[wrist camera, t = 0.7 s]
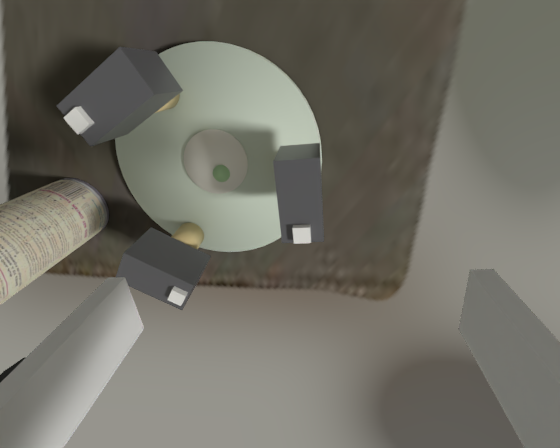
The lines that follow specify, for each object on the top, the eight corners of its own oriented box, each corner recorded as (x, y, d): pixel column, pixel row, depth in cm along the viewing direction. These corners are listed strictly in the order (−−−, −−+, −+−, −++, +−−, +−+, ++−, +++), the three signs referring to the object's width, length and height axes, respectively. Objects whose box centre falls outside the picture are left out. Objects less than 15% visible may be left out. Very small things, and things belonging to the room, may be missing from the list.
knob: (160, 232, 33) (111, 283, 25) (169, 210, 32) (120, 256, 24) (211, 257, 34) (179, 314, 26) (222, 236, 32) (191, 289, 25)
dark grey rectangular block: (178, 54, 25) (114, 46, 17) (200, 88, 26) (150, 94, 18) (128, 96, 27) (50, 106, 19) (150, 126, 28) (85, 148, 20)
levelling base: (107, 34, 27) (92, 31, 25) (336, 52, 25) (338, 50, 24) (137, 234, 35) (127, 243, 34) (308, 254, 34) (308, 265, 32)
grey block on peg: (285, 136, 27) (271, 163, 19) (319, 133, 27) (320, 159, 19) (290, 199, 30) (281, 246, 22) (322, 198, 29) (324, 245, 22)
